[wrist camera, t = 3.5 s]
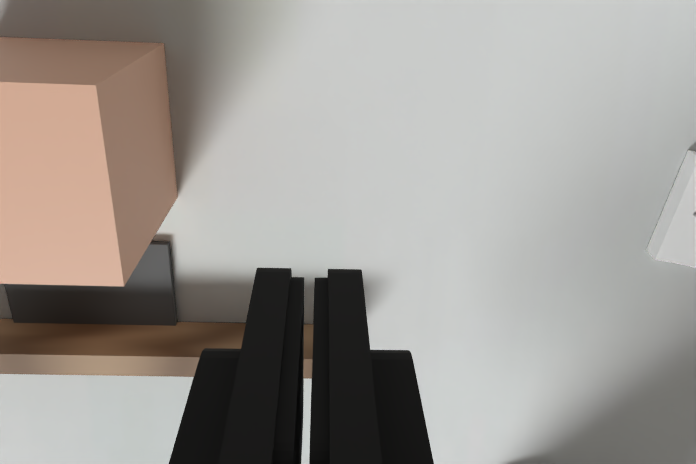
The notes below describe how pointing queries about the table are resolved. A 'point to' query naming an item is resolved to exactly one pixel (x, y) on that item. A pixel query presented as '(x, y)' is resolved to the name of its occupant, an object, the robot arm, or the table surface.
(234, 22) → the table surface
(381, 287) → the table surface
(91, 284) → the terracotta block
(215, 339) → the frame
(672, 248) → the headphone stand
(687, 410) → the table surface
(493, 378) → the table surface
